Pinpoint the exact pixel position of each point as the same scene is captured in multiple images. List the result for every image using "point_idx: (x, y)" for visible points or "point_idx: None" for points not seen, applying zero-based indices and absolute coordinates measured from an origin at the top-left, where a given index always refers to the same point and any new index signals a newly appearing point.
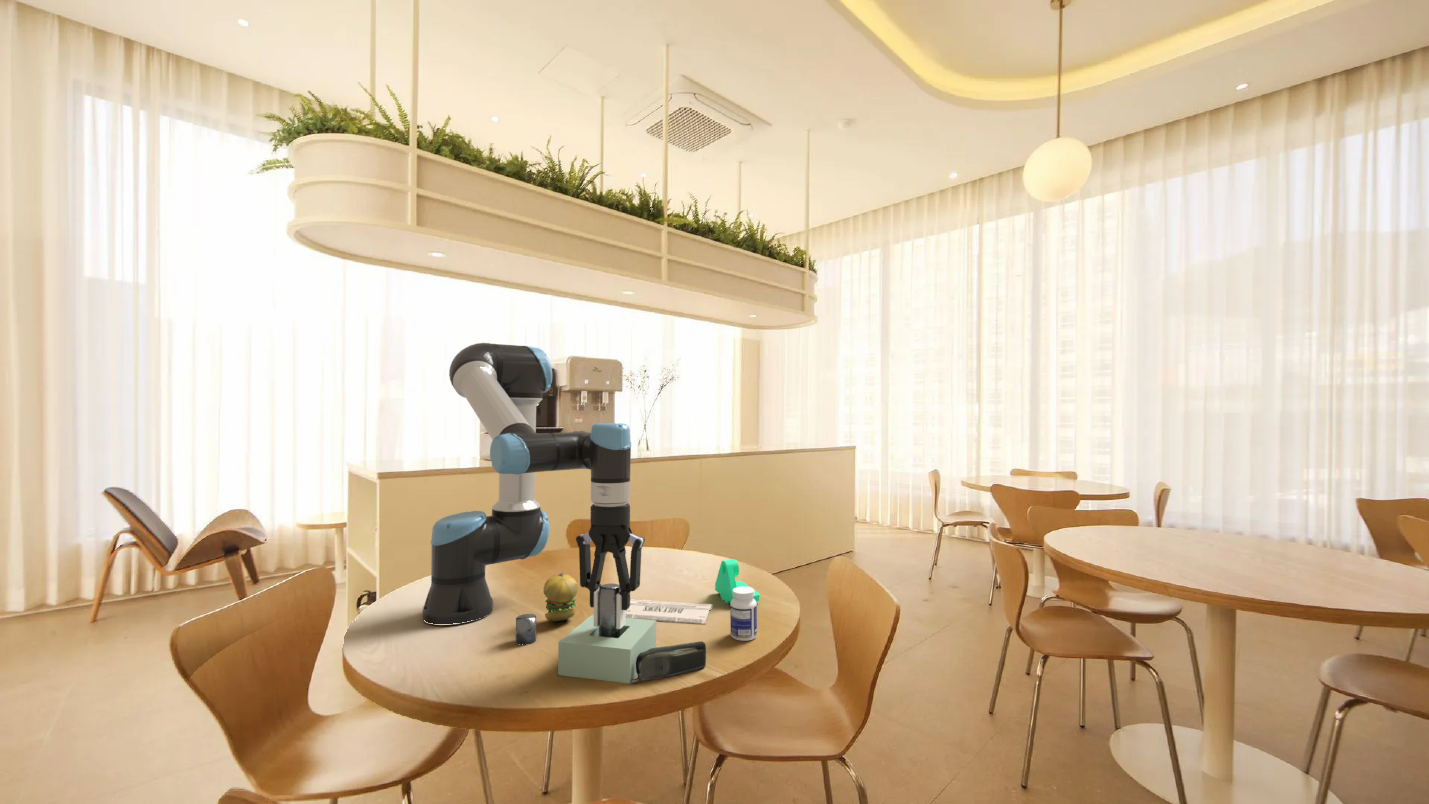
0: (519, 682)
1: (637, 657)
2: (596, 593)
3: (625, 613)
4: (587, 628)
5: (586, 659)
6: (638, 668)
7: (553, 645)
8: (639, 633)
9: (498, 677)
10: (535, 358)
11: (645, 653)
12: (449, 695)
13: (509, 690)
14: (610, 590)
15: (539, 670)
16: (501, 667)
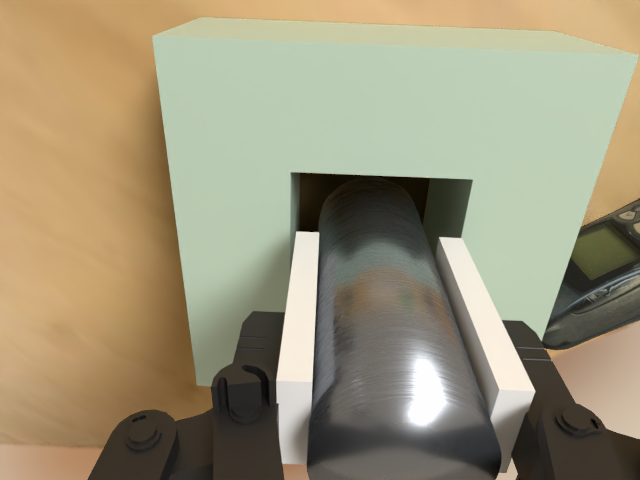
0: (136, 352)
1: None
2: (300, 458)
3: (478, 274)
4: (245, 250)
5: None
6: None
7: (33, 76)
8: (542, 259)
9: (52, 339)
10: None
11: (569, 339)
12: (14, 424)
13: (142, 388)
14: None
15: (142, 284)
16: (2, 286)
